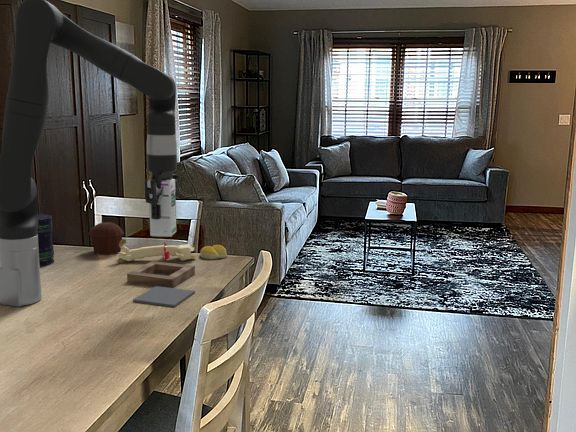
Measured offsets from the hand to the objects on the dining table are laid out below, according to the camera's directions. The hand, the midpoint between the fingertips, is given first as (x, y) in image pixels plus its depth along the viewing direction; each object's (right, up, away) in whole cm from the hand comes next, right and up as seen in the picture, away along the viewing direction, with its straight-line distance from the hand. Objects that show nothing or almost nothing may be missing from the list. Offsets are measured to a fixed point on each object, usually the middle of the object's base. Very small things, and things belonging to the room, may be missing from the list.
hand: (162, 216), depth 150 cm
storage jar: (-47, -15, +33) cm, 59 cm away
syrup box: (0, -5, +1) cm, 5 cm away
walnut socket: (-5, -18, +21) cm, 28 cm away
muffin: (-30, -12, +49) cm, 58 cm away
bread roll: (+7, -14, +46) cm, 49 cm away
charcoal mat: (0, -22, +4) cm, 22 cm away
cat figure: (-10, -15, +40) cm, 44 cm away
